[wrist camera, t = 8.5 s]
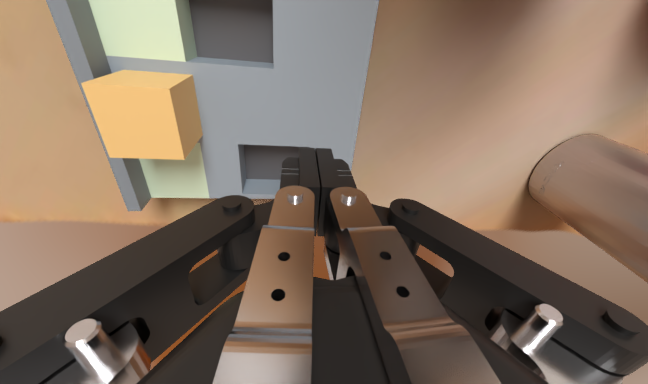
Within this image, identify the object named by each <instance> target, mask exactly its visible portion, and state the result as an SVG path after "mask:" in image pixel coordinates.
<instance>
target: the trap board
mask: <svg viewBox="0 0 648 384" xmlns="http://www.w3.org/2000/svg"><path fill="white" fill-rule="evenodd" d="M46 2H47V4H48V7H49V9H50V12H51V14H52V17H53V20H54V22H55V25H56V27H57V30H58V32H59V35H60V37H61V40H62V43H63V45H64V48H65V50H66V53H67V55H68V58H69V61H70V63H71V66H72V68H73V71H74V73H75V76H76V79H77V81H78V84H79V86H80V89H81V91H82V94H83V97H84V99H85V102H86V104H87V107H88V109H89V112H90V114H91V117H92V120H93V122H94V125H95V127H96V130H97V132H98V135H99V138H100V140H101V143H102V145H103V148H104V150H105V153H106V156H107V158H108V161H109V163H110V166H111V168H112V171H113V174H114V176H115V179H116V181H117V184H118V186H119V189H120V192H121V194H122V197H123V199H124V202H125V204H126V207H127V209H128V211H142V209H143V208H144V207H145V205H146V204H147V203H148V201H149V200H150V199H151V198H221V197H225V196H230V195H241V196H245V197H248V198H249V199H275V195H276V193H277V191H278V190H280V180H281V170H282V162H283V161H284V160H285V159H286V158H287V157H297V158H299V147H305V148H315V149H316V148H331V149H332V153H333V157H334V159H342V160H344V161H345V162H346V163H347V164H348V165H349V168H350V171H351V168H352V162H353V156H354V149H355V143H356V137H357V131H358V125H359V119H360V113H361V107H362V101H363V95H364V89H365V83H366V77H367V71H368V65H369V59H370V52H371V46H372V40H373V34H374V28H375V22H376V16H377V10H378V4H379V0H46ZM121 70H134V71H148V72H162V73H176V74H190V75H193V79H194V85H195V91H196V97H197V103H198V109H199V115H200V121H201V127H202V133H203V135H202V137H201V138H200V139H199V141H198V142H197V144H196V145H195V146H194V148H193V149H192V150H191V152H190V153H189V155H188V156H187V157H186V159H185V160H173V159H139V158H110V157H109V155H108V152H107V149H106V147H105V144H104V142H103V139H102V136H101V134H100V131H99V129H98V126H97V123H96V121H95V118H94V116H93V113H92V110H91V108H90V105H89V103H88V100H87V97H86V95H85V92H84V90H83V87H82V84H81V83H83V82H86V81H89V80H93V79H96V78H99V77H102V76H105V75H108V74H112V73H115V72H118V71H121Z"/></svg>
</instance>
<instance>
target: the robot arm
mask: <svg viewBox="0 0 648 384" xmlns="http://www.w3.org/2000/svg"><path fill="white" fill-rule="evenodd" d="M529 192H530V195H531V196H532V197H533V199H535V200H536V201H537V202H539V203H540V204H541V205H543V206H544V207H545V208H547V209H548V210H549V211H551V212H552V213H554V214H555V215H556V216H558V217H559V218H560V219H561V220H563V221H564V222H565V223H567V224H568V225H570V226H571V227H572V228H574V229H575V230H576V231H578V232H579V233H580V234H582V235H583V236H584V237H586V238H587V239H588V240H590V241H591V242H593V243H594V244H595V245H597V246H598V247H599V248H601V249H602V250H603V251H605V252H606V253H607V254H609V255H610V256H612V257H613V258H614V259H616V260H617V261H618V262H620V263H621V264H622V265H624V266H625V267H627V268H628V269H629V270H631V271H632V272H633V273H635V274H636V275H637V276H639V277H640V278H641V279H643V280H644V281H645V282H647V283H648V154H647V153H645V152H642V151H640V150H637V149H635V148H632V147H629V146H626V145H624V144H621V143H618V142H616V141H613V140H610V139H608V138H605V137H602V136H600V135H597V134H586V135H580V136H577V137H574V138H571V139H569V140H567V141H565V142H563V143H562V144H560V145H559V146H557V147H556V148H554V149H553V150H552V151H550V152H549V153H548V154H547V155H546V156H545V157H544V158H543V159H542V160H541V161H540V162H539V164H538V165H537V166H536V168H535V169H534V171H533V173H532V175H531V177H530V181H529ZM316 231H317V234H318V236H324V238H325V243H324V255H325V259H326V264H327V268H328V272H329V277H330V280H327V279H322V278H317V277H313V263H314V236H316ZM420 244H421V245H422V246H424V247H426V248H427V249H429V250H430V251H432V252H433V253H435V254H437V255H438V256H440V257H442V258H443V259H445V260H446V261H448V262H449V263H450V264H451V265H452V267H453V269H454V276H453V277H450V276H448V275H446V274H445V273H443V272H442V271H440V270H439V269H437V268H435V267H434V266H432V265H431V264H429V263H428V262H426V261H425V260H423V259H422V258H420V257H419V256H417V255H416V253H417V250H418V248H419V245H420ZM216 249H217V251H218V254H216V255H215V256H214V257H212V258H211V259H209V260H208V261H206V262H205V263H203V264H202V265H200V266H199V267H198V268H196V269H195V270H193V271H192V272H190V270H191V269H192V267H193V266H194V265H195V264H196V263H197V262H199V261H200V260H202V259H203V258H205V257H206V256H208V255H209V254H211V253H212V252H214V251H215V250H216ZM189 272H190V273H189ZM246 280H247V283H246V286H245V290H244V291H242V292H240V293H238V294H237V295H235V296H233V297H231V298H230V299H229V300H227V301H226V302H224V303H223V304H222V305H221V306H220V307H218V308H217V309H216V310H215V311H214V312H213V313H212V314H211V315H210V316H209V317H208V318H206V319H205V320H204V321H203V322H202V323H201V324H200V325H199V326H198V327H197V328H196V329H195V330H194V331H193V332H191V333H190V334H189V335H188V336H187V337H186V338H185V339H184V340H183V341H182V342H181V343H180V344H178V345H177V346H176V347H175V348H174V349H173V350H172V351H171V352H170V353H169V354H168V355H167V356H166V357H164V358H163V359H162V360H161V361H160V362H159V363H158V364H157V365H156V366H155V367H154V368H153V369H152V370H150V367H151V362H152V361H153V360H155V359H156V358H157V357H158V356H159V355H161V354H162V353H163V352H164V351H165V350H166V349H167V348H168V347H170V346H171V345H172V344H173V343H174V342H175V341H177V340H178V339H179V338H180V337H181V336H182V335H183V334H185V333H186V332H187V331H188V330H189V329H191V328H192V327H193V326H194V325H195V324H196V323H197V322H199V321H200V320H201V319H202V318H203V317H204V316H205V315H207V314H208V313H209V312H210V311H211V310H212V309H213V308H215V307H216V306H217V305H218V304H219V303H220V302H222V301H223V300H224V299H225V298H226V297H227V296H229V295H230V294H231V293H232V292H233V291H234V290H235V289H236V288H238V287H239V286H240V285H241V284H242V283H243V282H245V281H246ZM647 362H648V326H647V325H646V324H645V323H644V322H643V321H641V320H640V319H639V318H638V317H636V316H635V315H633V314H632V313H630V312H629V311H627V310H625V309H624V308H622V307H620V306H618V305H616V304H614V303H612V302H610V301H608V300H606V299H604V298H602V297H601V296H599V295H597V294H595V293H593V292H591V291H589V290H587V289H585V288H583V287H581V286H579V285H577V284H576V283H574V282H571V281H570V280H568V279H566V278H564V277H562V276H560V275H558V274H556V273H554V272H552V271H550V270H549V269H546V268H545V267H543V266H541V265H539V264H537V263H535V262H533V261H531V260H529V259H527V258H525V257H523V256H521V255H520V254H518V253H516V252H514V251H512V250H510V249H508V248H506V247H504V246H502V245H500V244H498V243H496V242H494V241H493V240H490V239H489V238H487V237H485V236H483V235H481V234H479V233H477V232H475V231H473V230H471V229H469V228H467V227H466V226H464V225H462V224H460V223H458V222H456V221H454V220H452V219H450V218H448V217H446V216H444V215H442V214H440V213H438V212H437V211H435V210H433V209H431V208H429V207H427V206H425V205H423V204H421V203H419V202H417V201H414V200H410V199H396V200H394V201H393V202H392V203H391V204H390V208H386V207H381V206H377V205H373V204H371V203H370V201H369V200H368V198H367V196H366V194H365V193H363V192H362V191H360V190H358V189H357V187H356V185H355V182H354V179H353V176H352V174H351V171H350V168H349V165H348V164H347V163H346V162H345V161H344V160H342V159H334V157H333V153H332V149H331V148H316V149H315V148H305V147H299V158H297V157H287V158H286V159H285V160H284V161H283V162H282V170H281V180H280V190H278V191H277V193H276V195H275V199H274V200H272V201H270V202H268V203H265V204H260V205H254V203H253V201H252V200H251V199H249V198H248V197H245V196H241V195H230V196H225V197H221V198H219V199H217V200H215V201H213V202H211V203H209V204H207V205H205V206H203V207H202V208H200V209H198V210H196V211H194V212H192V213H190V214H188V215H186V216H184V217H182V218H180V219H178V220H176V221H174V222H173V223H171V224H169V225H167V226H165V227H163V228H161V229H159V230H157V231H155V232H153V233H151V234H149V235H148V236H146V237H144V238H142V239H140V240H138V241H136V242H134V243H132V244H130V245H128V246H126V247H125V248H122V249H120V250H118V251H117V252H115V253H113V254H111V255H109V256H107V257H105V258H103V259H101V260H99V261H97V262H95V263H93V264H91V265H90V266H88V267H86V268H84V269H82V270H80V271H78V272H76V273H74V274H72V275H70V276H68V277H67V278H64V279H62V280H61V281H59V282H57V283H55V284H53V285H51V286H49V287H47V288H45V289H43V290H41V291H39V292H37V293H36V294H34V295H32V296H30V297H28V298H26V299H24V300H22V301H20V302H18V303H16V304H14V305H12V306H11V307H8V308H6V309H5V310H3V311H1V312H0V384H622V380H623V379H624V378H625V377H627V376H628V375H629V374H631V373H633V372H634V371H636V370H637V369H638V368H640V367H641V366H643V365H644V364H646V363H647Z"/></svg>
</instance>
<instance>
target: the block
mask: <svg viewBox="0 0 648 384" xmlns="http://www.w3.org/2000/svg"><path fill="white" fill-rule="evenodd" d="M81 84H82V87H83V90H84V92H85V95H86V97H87V100H88V103H89V105H90V108H91V110H92V113H93V116H94V118H95V121H96V123H97V126H98V129H99V131H100V134H101V136H102V139H103V142H104V144H105V147H106V149H107V152H108V155H109V157H110V158H139V159H173V160H185V159H186V157H187V156H188V155H189V153H190V152H191V150H192V149H193V148H194V146H195V145H196V144H197V142H198V141H199V139H200V138H201V137H202V135H203V133H202V127H201V121H200V115H199V109H198V103H197V97H196V91H195V85H194V79H193V75H190V74H176V73H162V72H148V71H134V70H121V71H118V72H115V73H112V74H108V75H105V76H102V77H99V78H96V79H93V80H89V81H86V82H83V83H81Z"/></svg>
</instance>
